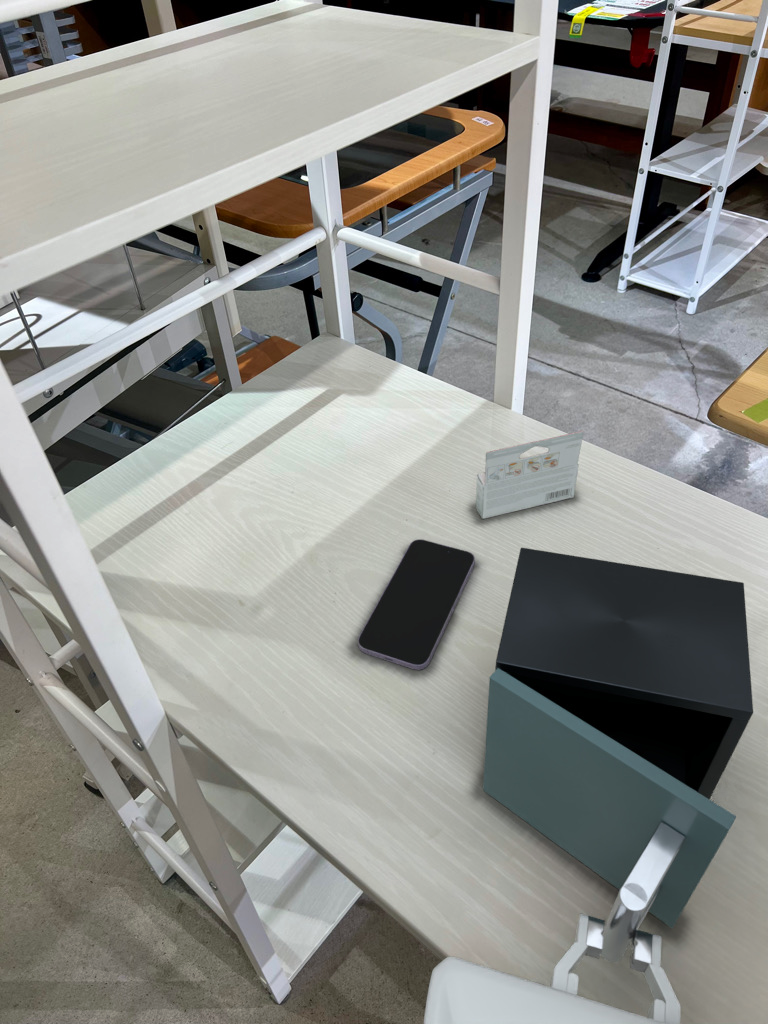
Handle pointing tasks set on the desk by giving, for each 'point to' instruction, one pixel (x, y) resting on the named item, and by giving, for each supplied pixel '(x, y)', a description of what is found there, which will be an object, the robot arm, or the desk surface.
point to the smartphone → (417, 604)
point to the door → (600, 806)
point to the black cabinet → (635, 656)
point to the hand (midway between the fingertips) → (617, 927)
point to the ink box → (528, 476)
